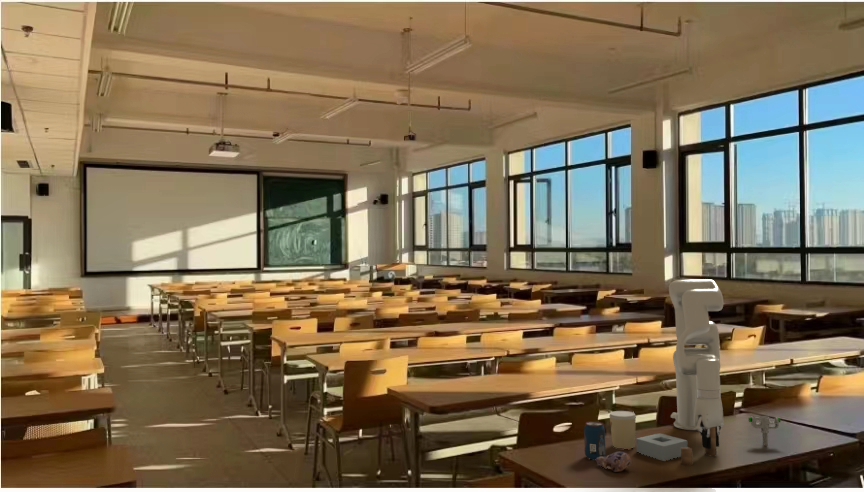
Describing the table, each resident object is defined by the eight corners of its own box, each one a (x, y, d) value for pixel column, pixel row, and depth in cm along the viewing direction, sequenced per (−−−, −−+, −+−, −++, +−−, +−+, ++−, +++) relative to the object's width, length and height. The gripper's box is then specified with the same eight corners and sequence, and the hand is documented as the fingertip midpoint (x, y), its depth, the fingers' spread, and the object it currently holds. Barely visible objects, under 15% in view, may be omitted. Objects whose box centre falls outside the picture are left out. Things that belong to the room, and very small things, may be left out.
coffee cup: (618, 441, 246) (617, 409, 246) (641, 446, 239) (640, 413, 239) (605, 447, 239) (604, 414, 239) (628, 451, 232) (627, 417, 233)
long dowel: (703, 453, 228) (702, 419, 228) (709, 452, 229) (708, 417, 230) (712, 456, 224) (710, 421, 225) (718, 454, 226) (717, 419, 226)
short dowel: (679, 463, 218) (678, 448, 218) (686, 461, 220) (685, 446, 220) (687, 466, 215) (687, 450, 215) (695, 464, 217) (694, 448, 217)
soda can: (587, 454, 231) (586, 420, 231) (607, 456, 228) (606, 421, 228) (583, 459, 225) (581, 424, 225) (603, 462, 222) (602, 426, 222)
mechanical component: (782, 446, 234) (780, 418, 234) (751, 445, 236) (750, 417, 236) (779, 444, 236) (778, 416, 237) (749, 443, 239) (747, 415, 239)
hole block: (636, 452, 231) (636, 438, 231) (660, 446, 237) (659, 433, 237) (664, 461, 221) (663, 446, 221) (687, 455, 227) (687, 440, 227)
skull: (591, 467, 217) (591, 448, 218) (606, 462, 222) (605, 444, 222) (621, 475, 208) (621, 456, 208) (636, 470, 212) (635, 451, 213)
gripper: (714, 389, 235) (716, 440, 234) (683, 395, 226) (685, 448, 226) (733, 392, 228) (735, 445, 228) (702, 398, 220) (704, 453, 220)
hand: (710, 446), depth 227 cm, fingers closed on long dowel, 3 cm apart
